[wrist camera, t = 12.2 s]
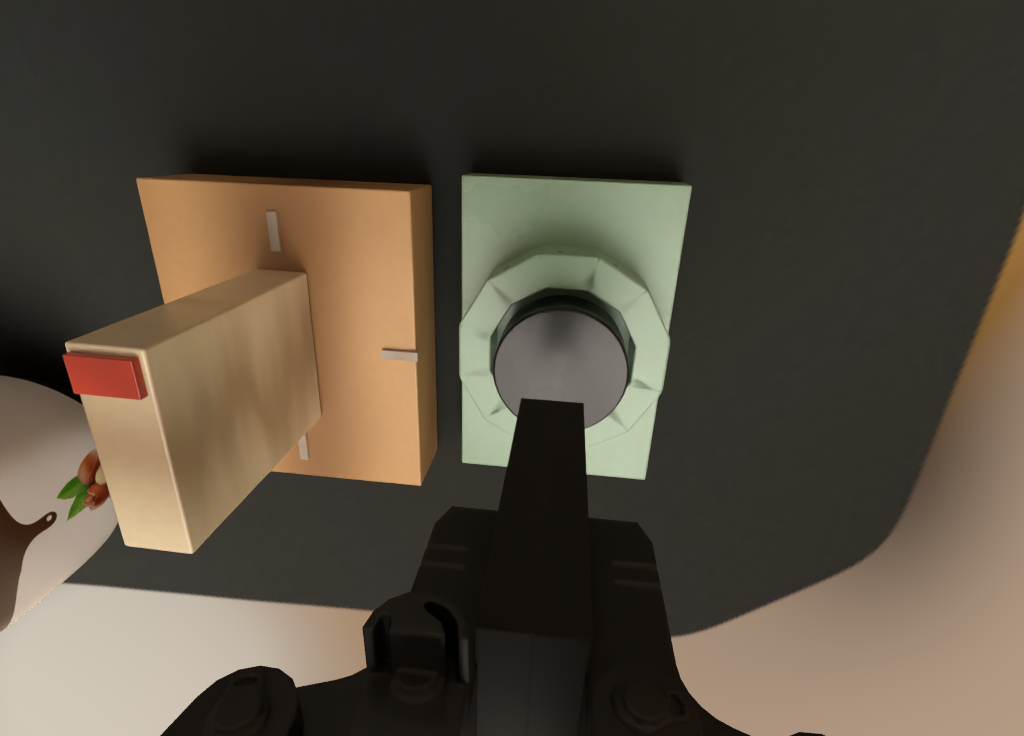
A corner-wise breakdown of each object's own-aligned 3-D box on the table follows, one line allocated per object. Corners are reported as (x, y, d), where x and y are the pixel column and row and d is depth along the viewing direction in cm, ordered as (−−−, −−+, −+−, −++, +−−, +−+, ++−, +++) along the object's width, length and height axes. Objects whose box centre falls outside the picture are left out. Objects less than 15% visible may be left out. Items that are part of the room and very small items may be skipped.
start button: (500, 290, 19) (493, 303, 17) (632, 298, 18) (637, 312, 17) (497, 406, 21) (491, 427, 19) (617, 415, 20) (621, 439, 19)
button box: (470, 172, 20) (450, 177, 17) (683, 182, 20) (704, 189, 16) (468, 443, 25) (453, 487, 22) (640, 458, 24) (650, 506, 21)
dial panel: (237, 431, 26) (195, 466, 23) (188, 173, 22) (128, 177, 19) (440, 449, 25) (422, 488, 22) (434, 184, 21) (411, 191, 18)
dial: (322, 417, 22) (186, 561, 14) (275, 412, 22) (117, 552, 14) (307, 272, 19) (135, 353, 12) (255, 268, 20) (52, 345, 12)
